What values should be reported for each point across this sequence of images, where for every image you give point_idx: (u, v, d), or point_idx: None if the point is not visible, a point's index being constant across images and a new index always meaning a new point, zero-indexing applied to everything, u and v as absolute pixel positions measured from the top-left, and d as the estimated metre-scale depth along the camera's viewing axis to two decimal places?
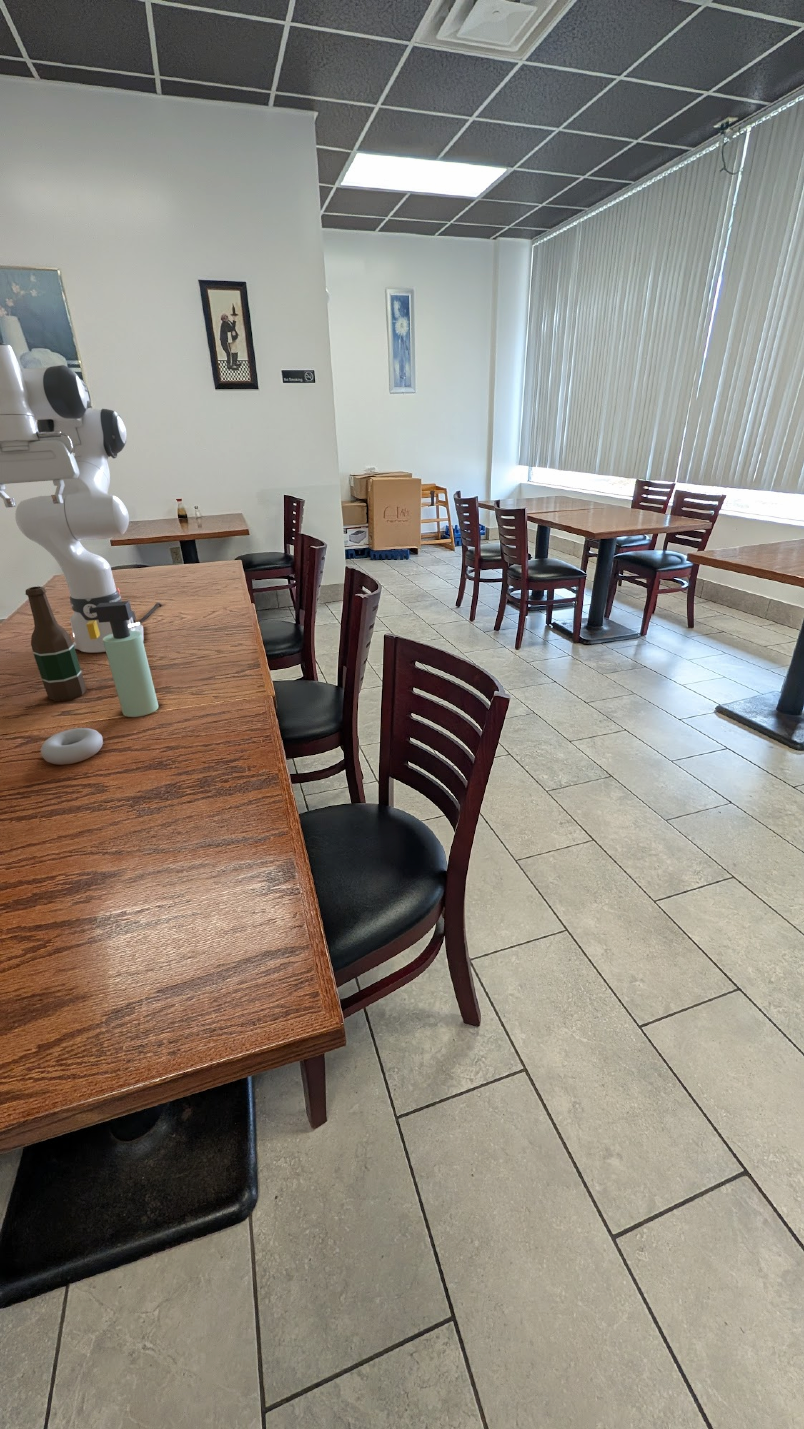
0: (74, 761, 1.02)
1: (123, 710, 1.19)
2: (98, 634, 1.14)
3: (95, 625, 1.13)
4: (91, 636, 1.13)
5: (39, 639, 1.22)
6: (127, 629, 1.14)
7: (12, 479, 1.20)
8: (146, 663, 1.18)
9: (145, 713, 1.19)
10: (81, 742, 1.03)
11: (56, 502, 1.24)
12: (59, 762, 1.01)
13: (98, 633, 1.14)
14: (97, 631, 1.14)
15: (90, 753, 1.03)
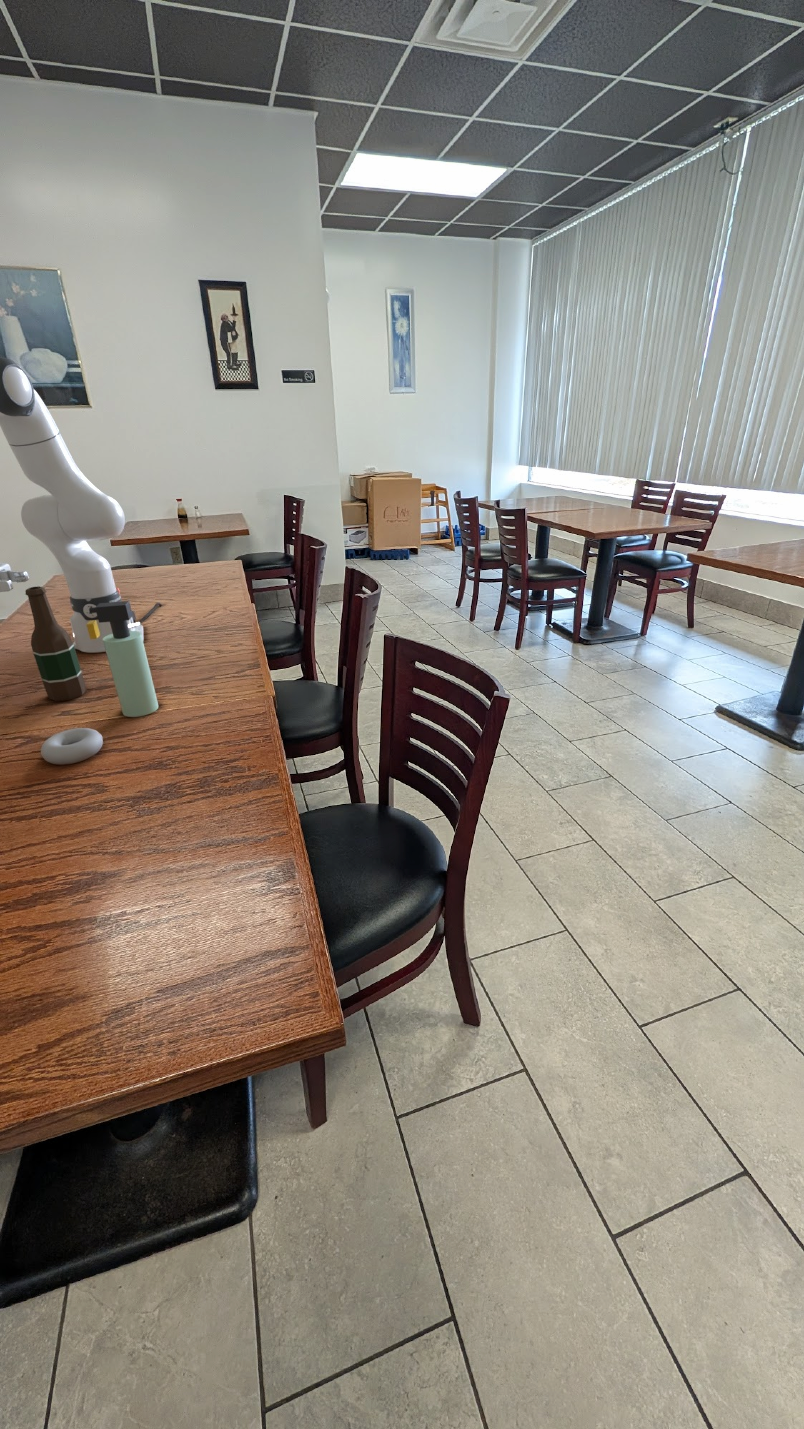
0: (74, 761, 1.02)
1: (123, 710, 1.19)
2: (98, 634, 1.14)
3: (95, 625, 1.13)
4: (91, 636, 1.13)
5: (39, 639, 1.22)
6: (127, 629, 1.14)
7: None
8: (146, 663, 1.18)
9: (145, 713, 1.19)
10: (81, 742, 1.03)
11: (11, 589, 1.04)
12: (59, 762, 1.01)
13: (98, 633, 1.14)
14: (97, 631, 1.14)
15: (90, 753, 1.03)
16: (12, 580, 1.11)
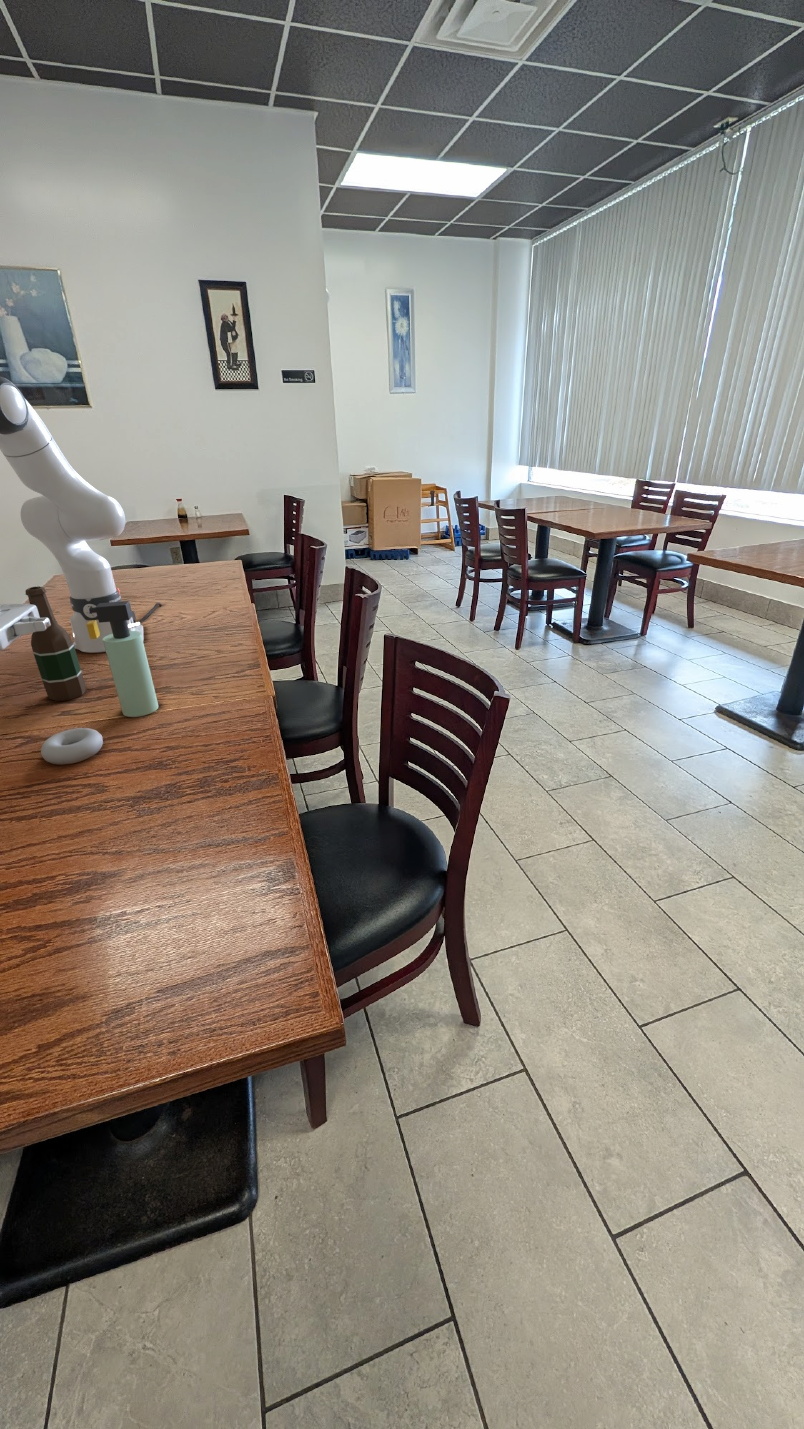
0: (74, 761, 1.02)
1: (123, 710, 1.19)
2: (98, 634, 1.14)
3: (95, 625, 1.13)
4: (91, 636, 1.13)
5: (39, 639, 1.22)
6: (127, 629, 1.14)
7: None
8: (146, 663, 1.18)
9: (145, 713, 1.19)
10: (81, 742, 1.03)
11: (46, 628, 1.11)
12: (59, 762, 1.01)
13: (98, 633, 1.14)
14: (97, 631, 1.14)
15: (90, 753, 1.03)
16: None
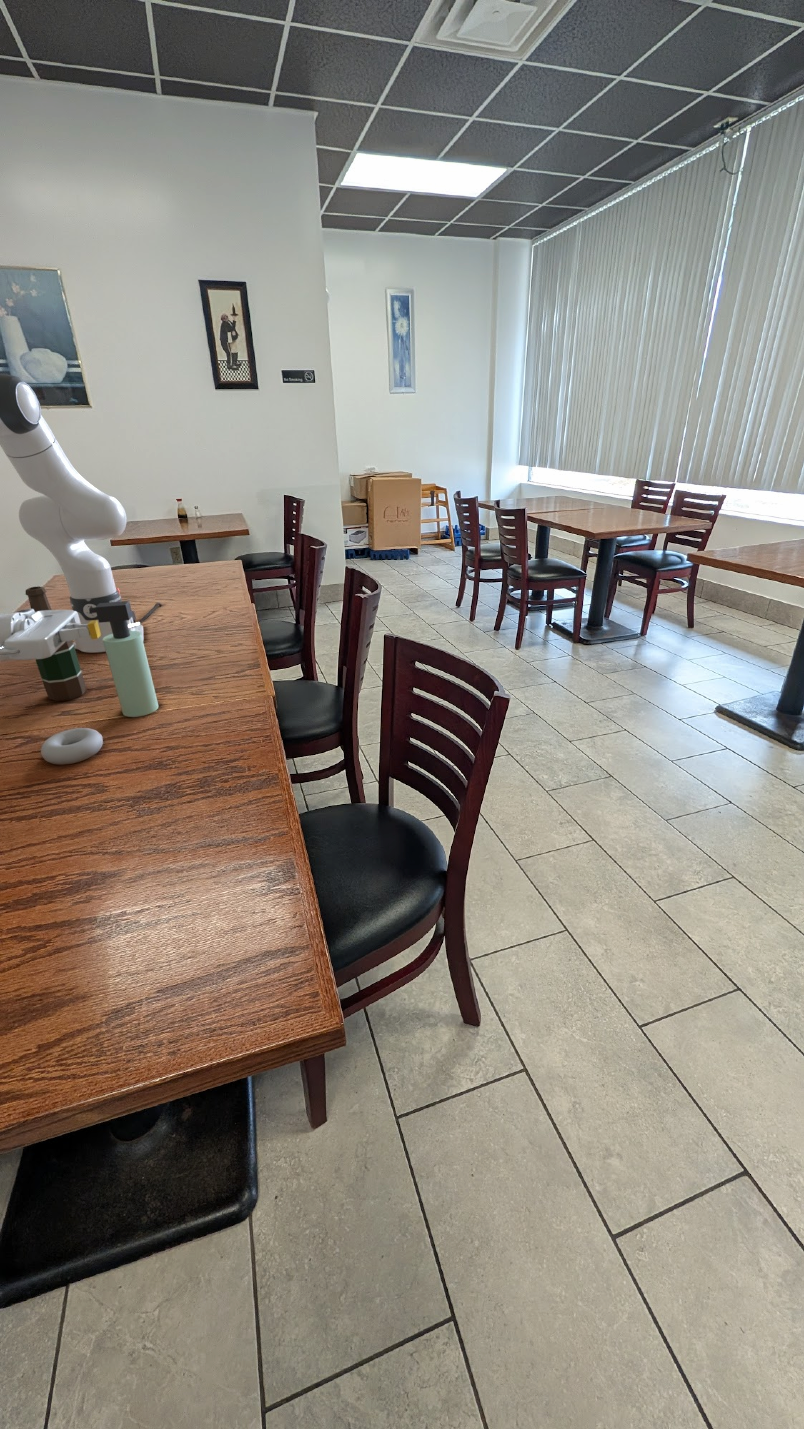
0: (74, 761, 1.02)
1: (123, 710, 1.19)
2: (99, 634, 1.14)
3: (96, 625, 1.13)
4: (92, 636, 1.13)
5: None
6: (127, 629, 1.14)
7: None
8: (146, 663, 1.18)
9: (145, 713, 1.19)
10: (81, 742, 1.03)
11: (89, 635, 1.13)
12: (59, 762, 1.01)
13: (99, 633, 1.14)
14: (98, 631, 1.14)
15: (90, 753, 1.03)
16: None
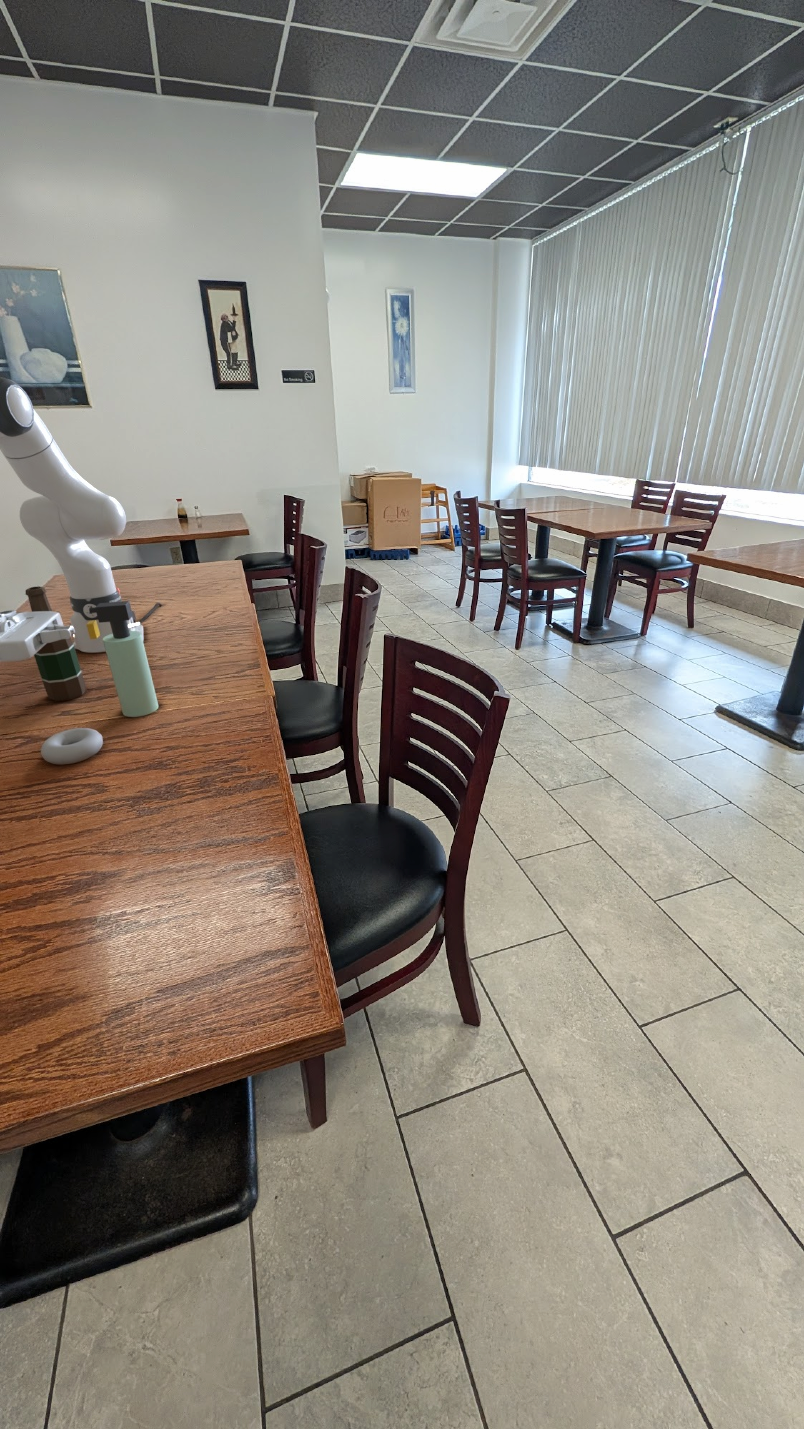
0: (74, 761, 1.02)
1: (123, 710, 1.19)
2: (98, 634, 1.14)
3: (95, 625, 1.13)
4: (91, 636, 1.13)
5: None
6: (127, 629, 1.14)
7: None
8: (146, 663, 1.18)
9: (145, 713, 1.19)
10: (81, 742, 1.03)
11: (71, 636, 1.13)
12: (59, 762, 1.01)
13: (98, 633, 1.14)
14: (97, 631, 1.14)
15: (90, 753, 1.03)
16: None
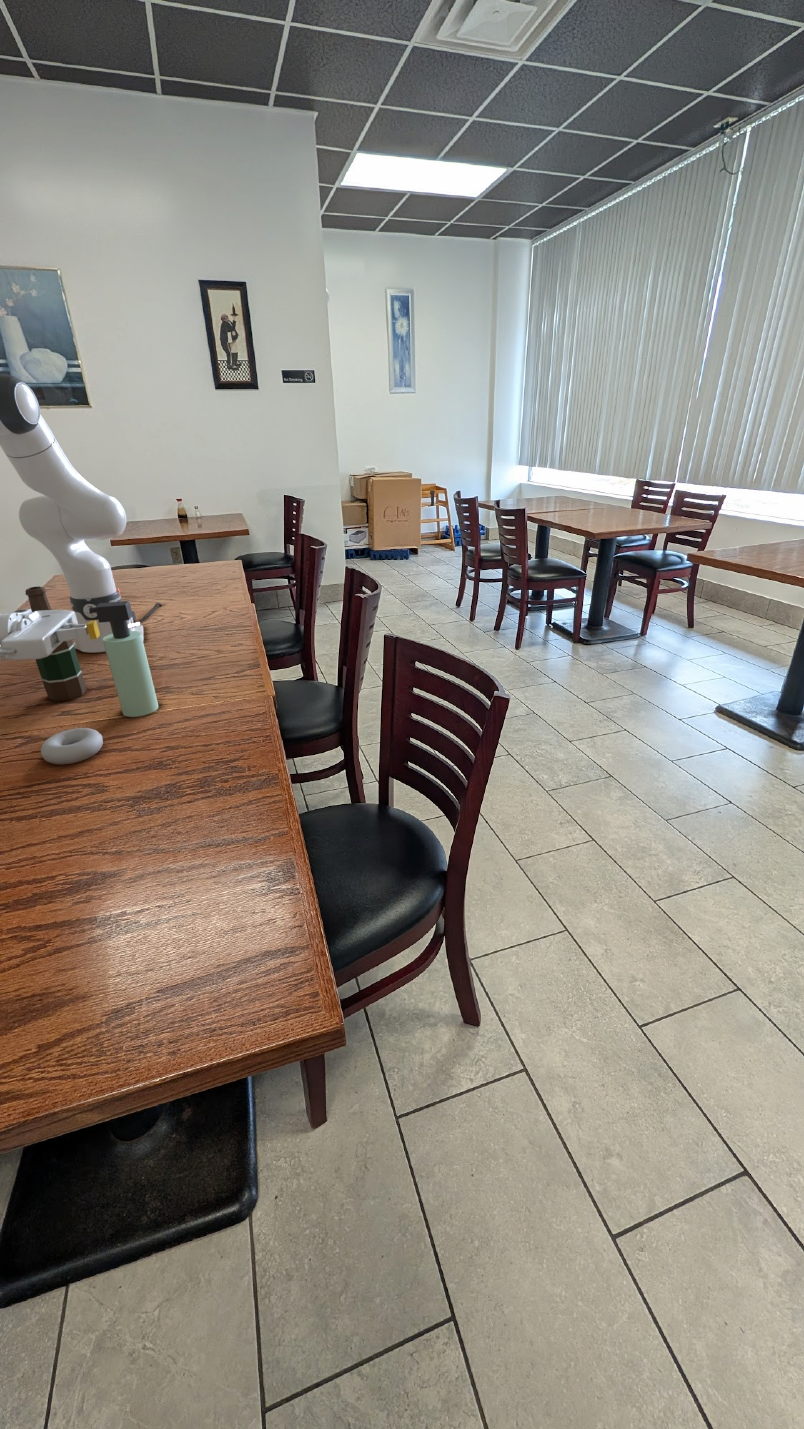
0: (74, 761, 1.02)
1: (123, 710, 1.19)
2: (98, 634, 1.14)
3: (95, 625, 1.13)
4: (91, 636, 1.13)
5: None
6: (127, 629, 1.14)
7: None
8: (146, 663, 1.18)
9: (145, 713, 1.19)
10: (81, 742, 1.03)
11: (86, 635, 1.13)
12: (59, 762, 1.01)
13: (98, 633, 1.14)
14: (97, 631, 1.14)
15: (90, 753, 1.03)
16: None
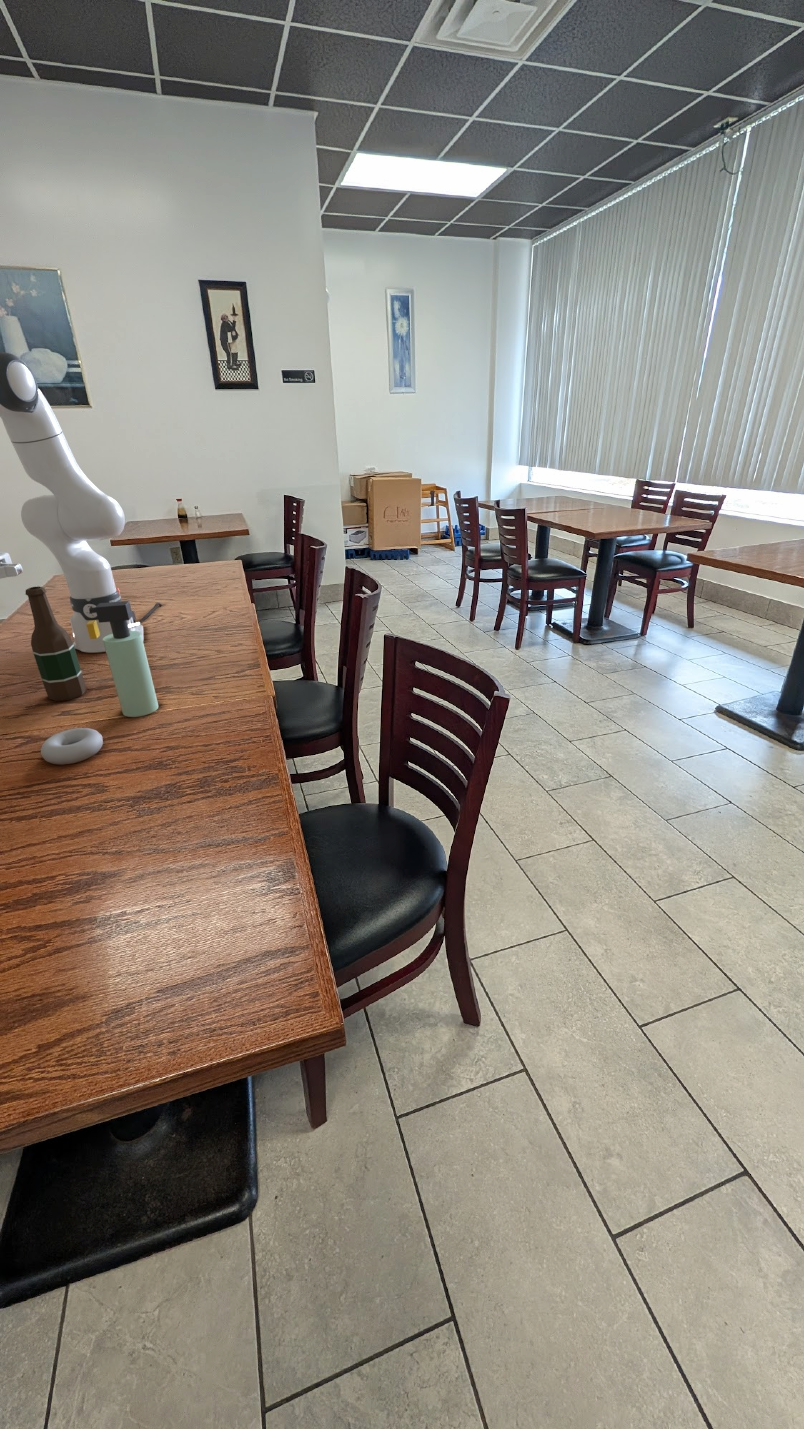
0: (74, 761, 1.02)
1: (123, 710, 1.19)
2: (98, 634, 1.14)
3: (95, 625, 1.13)
4: (91, 636, 1.13)
5: (39, 639, 1.22)
6: (127, 629, 1.14)
7: None
8: (146, 663, 1.18)
9: (145, 713, 1.19)
10: (81, 742, 1.03)
11: (17, 574, 1.07)
12: (59, 762, 1.01)
13: (98, 633, 1.14)
14: (97, 631, 1.14)
15: (90, 753, 1.03)
16: None
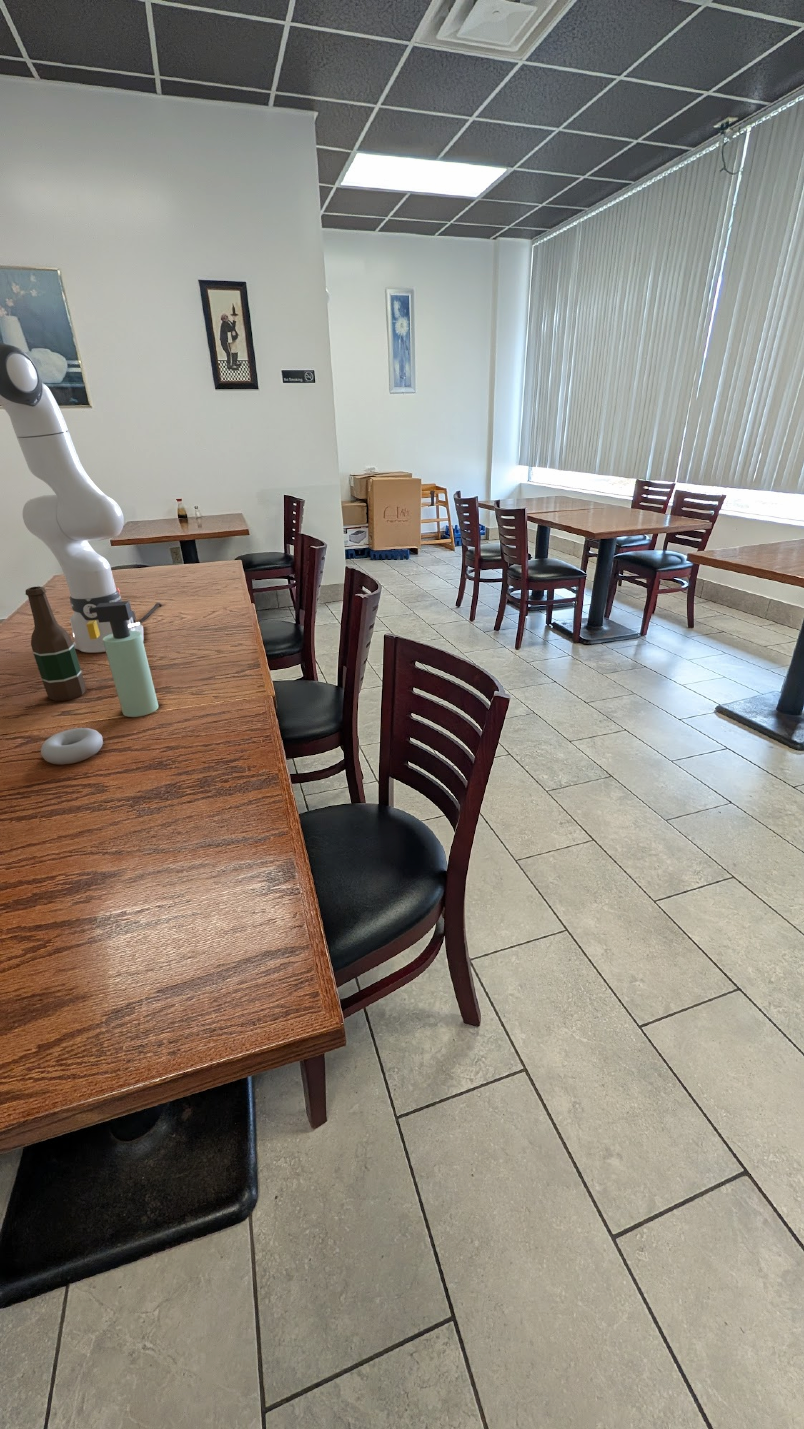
0: (74, 761, 1.02)
1: (123, 710, 1.19)
2: (98, 634, 1.14)
3: (95, 625, 1.13)
4: (91, 636, 1.13)
5: (39, 639, 1.22)
6: (127, 629, 1.14)
7: None
8: (146, 663, 1.18)
9: (145, 713, 1.19)
10: (81, 742, 1.03)
11: None
12: (59, 762, 1.01)
13: (98, 633, 1.14)
14: (97, 631, 1.14)
15: (90, 753, 1.03)
16: None
